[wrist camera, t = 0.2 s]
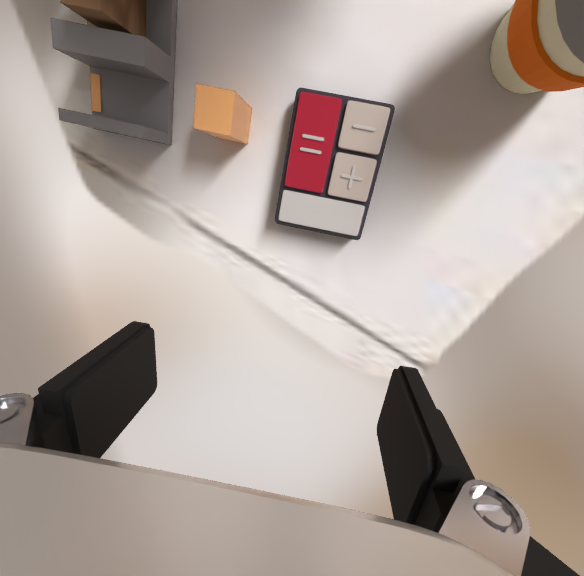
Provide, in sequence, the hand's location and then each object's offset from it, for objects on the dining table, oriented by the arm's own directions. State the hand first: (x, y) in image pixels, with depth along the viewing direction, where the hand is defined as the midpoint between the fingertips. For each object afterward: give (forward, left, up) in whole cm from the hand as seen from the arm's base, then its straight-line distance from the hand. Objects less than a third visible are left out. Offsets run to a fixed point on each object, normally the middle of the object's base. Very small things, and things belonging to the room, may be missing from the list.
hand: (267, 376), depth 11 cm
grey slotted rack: (-16, -25, -31) cm, 43 cm away
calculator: (-9, +1, -31) cm, 32 cm away
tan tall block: (-12, -12, -31) cm, 35 cm away
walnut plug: (-20, -25, -30) cm, 44 cm away
